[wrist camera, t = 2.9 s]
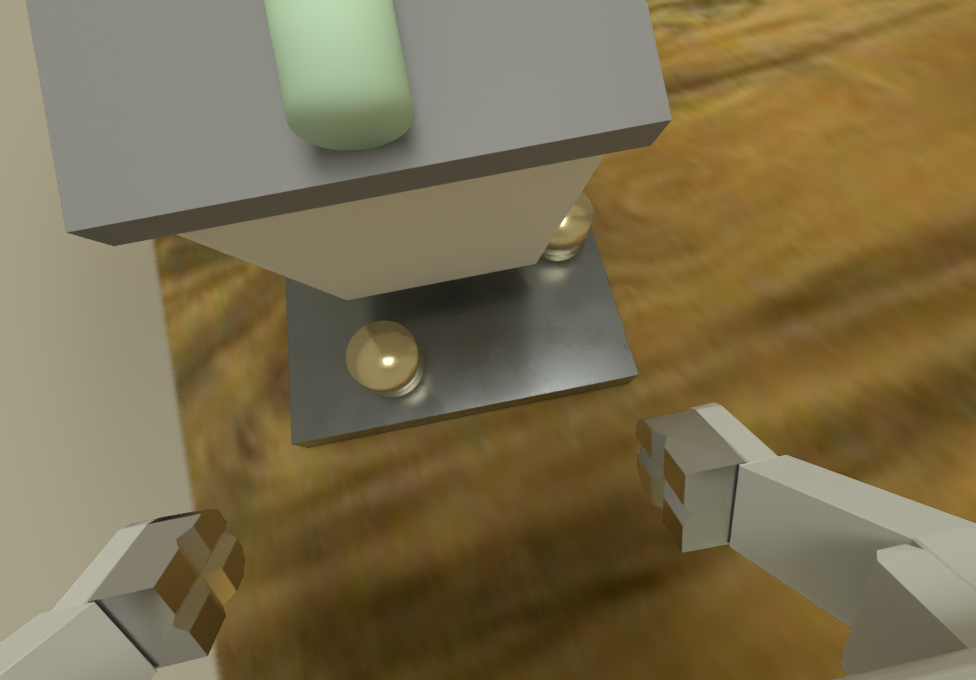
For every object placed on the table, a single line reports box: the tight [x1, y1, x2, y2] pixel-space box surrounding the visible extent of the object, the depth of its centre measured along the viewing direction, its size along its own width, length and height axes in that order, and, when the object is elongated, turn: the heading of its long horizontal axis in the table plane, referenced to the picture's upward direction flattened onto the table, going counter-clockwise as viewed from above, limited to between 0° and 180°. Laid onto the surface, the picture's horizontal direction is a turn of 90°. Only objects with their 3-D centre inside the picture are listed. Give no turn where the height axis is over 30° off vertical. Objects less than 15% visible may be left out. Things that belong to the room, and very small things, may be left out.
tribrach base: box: [286, 192, 639, 448], centre depth 26 cm, size 19×19×4 cm
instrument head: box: [26, 0, 672, 300], centre depth 16 cm, size 6×11×20 cm, turn 101°
